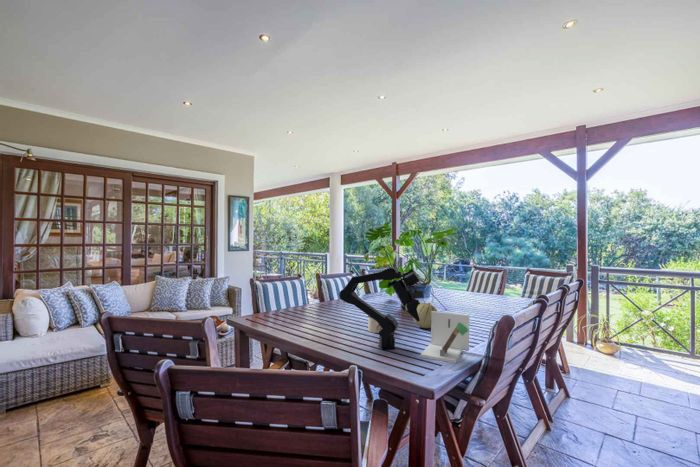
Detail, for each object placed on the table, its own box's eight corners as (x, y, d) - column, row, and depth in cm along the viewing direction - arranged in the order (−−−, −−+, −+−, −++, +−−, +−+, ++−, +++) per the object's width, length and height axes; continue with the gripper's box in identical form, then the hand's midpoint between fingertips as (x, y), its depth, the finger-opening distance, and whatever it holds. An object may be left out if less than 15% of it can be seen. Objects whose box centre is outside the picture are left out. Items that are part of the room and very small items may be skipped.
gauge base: (420, 357, 153) (421, 318, 153) (430, 345, 170) (431, 310, 170) (462, 364, 145) (463, 323, 145) (469, 351, 162) (469, 314, 162)
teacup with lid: (378, 334, 189) (379, 312, 189) (364, 331, 194) (365, 310, 194) (389, 329, 198) (389, 309, 199) (375, 327, 204) (376, 307, 204)
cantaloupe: (407, 327, 204) (407, 302, 204) (421, 323, 214) (421, 299, 215) (429, 332, 194) (429, 305, 194) (442, 328, 204) (443, 302, 204)
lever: (440, 352, 152) (454, 329, 150) (441, 349, 156) (455, 327, 153) (444, 355, 152) (458, 331, 149) (445, 352, 155) (460, 330, 152)
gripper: (420, 281, 156) (438, 312, 153) (412, 284, 174) (428, 312, 171) (399, 293, 154) (417, 325, 152) (393, 295, 173) (409, 323, 170)
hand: (418, 321), depth 161 cm, fingers closed
